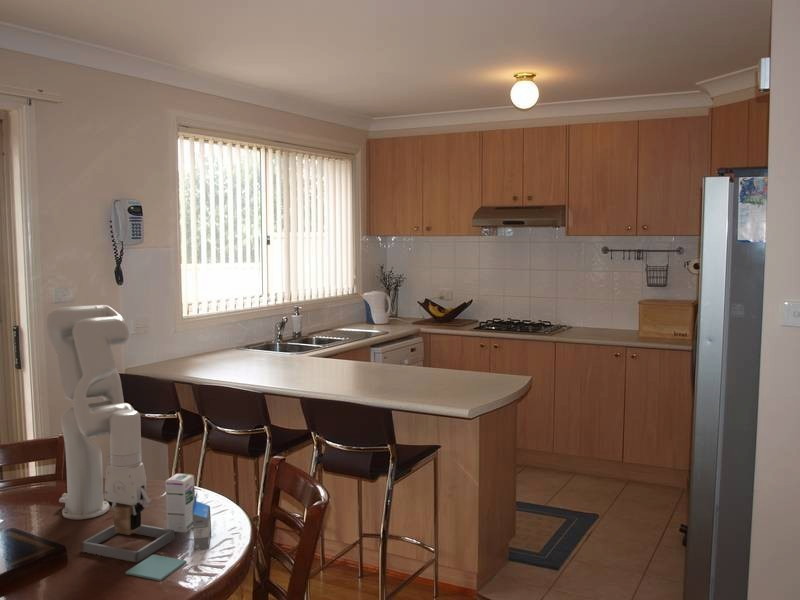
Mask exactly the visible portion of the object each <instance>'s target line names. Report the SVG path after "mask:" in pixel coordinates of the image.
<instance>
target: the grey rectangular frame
mask: <svg viewBox="0 0 800 600" xmlns="http://www.w3.org/2000/svg"><path fill="white" fill-rule="evenodd" d="M117 534H118V533H116V532H115V526H114V524H113V525H110V526H109V527H107V528H105V529H103V530H101V531H99V532H98V533H96V534H94V535H92V536H91V537H89V538H87V539H85V540H83V541H81V543H80V545H81V546H80V547H81V552H82V553H85V552H87V553H86V554H91V553H92V554H91V555H96V554H97V556H101V555H102V556H103V557H106V558H113V559H117V560H123V561H128V562H133V563H137V564H139V563H140V562H142V561H143V560H145V559H147V558H148V557H150V556H151V555H153V553H155V552H157V551H158V550H159V549H161V548H162V547H165V545H166V546H167V544H170V543H171V542H172V541H174V540H175V532H174V530H170V529H167V528H164V527H158V526H153V525H146V524H141V528H140V529H138V530H137V531H135V532H133V533H132V534H136V535H141V536H147V537H152V538H156V539H155V540H153V541H151V542H150V543H148V544H146V545H144V546H143V547H142V548H141V547H140V549H138V550H137V551H136V550H132V549H126V548H121V547H116V546H111V545H106V544H101V543H103V542H104V541H107V540H108V539H110V538H112V537H113V536H115V535H117Z"/></svg>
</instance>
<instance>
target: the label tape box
mask: <svg viewBox="0 0 800 600" xmlns="http://www.w3.org/2000/svg"><path fill="white" fill-rule="evenodd" d="M197 496H198V492H195V498H194V501H193V507H192V515H193V527H192V529H193V530H192V531H193V534H192V535H193V548H194V549H193V550H194V551H201V550H202V551H203V550H209V549H210V547H211V546H210V545H211V538H212V522H211V521H212V518H211V506H210V505H209V504H205V503H203V502H199V501H197V498H198V497H197ZM194 502H195V504H194Z"/></svg>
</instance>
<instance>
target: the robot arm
mask: <svg viewBox="0 0 800 600" xmlns="http://www.w3.org/2000/svg"><path fill="white" fill-rule="evenodd" d="M45 321H46V323H45V324H46V332H47V336H48V339H49V341H50V342H51V345H52V347H53V349H54V351H55V354H56V358H57V365H58V371H59V378H60V385H61V390H62V394H63V397H64V398H65V399H66V400H68V401H72V406H71V407H68V408H66V409H64V411H63V412H62V414H61V416H60V427H61V430H62V435H63V441H64V450H65V462H66V463H65V466H66V467H65V468H66V486H67V487H66V488H67V489H66V490H67V493H66V492H64V493H62V494H61V497H60V498H59V499H58V502H59V503H63V504H64V505H65V506H64V508H63V509H62V510H61V513H62V514H61V515H62V516H63V518H66V519H69V520H87V519H88V520H89V519H91V518H96V517H99V516H102V515H104V514H106V513H107V512H108V511H109V510H110V507H111V511H112V512H113V513H114V506H115V505H117V504H119V503H120V504H125V505H130V506H131V510H132V515H131V530H134V529H136V528H138V527H139V526H141V525H142V514H141V513H142V512H143V511H144V509H145V508H146V507H148V506H149V505H151V504H152V500H151V499H150V497H149V496H148V487H147V486H148V484H147V476H146V475H147V474H146V470H145V466H144V463H143V462H142V433H141V431H142V430H141V429H142V427H141V425H142V424H141V423H142V422H141V414H140V412H139V411H137V410H135V409H134V407H133V406H132V405H131V404H130V403H128V402H127V403H126V402H125V400H124V395H123V394H124V393H123V388H122V387H123V386H122V380H121V377H120V374H119V371H118V369H117V363H116V360H115V358H114V357H115V356H114V354H113V351H112V346H113V347H115V346H122V345H126V343H127V342H128V341H129V337H130V330H129V327H128V324H127V322H126V320H125V319H124V317H123V316H122V315H121V314H120V313H119V312H117V311H116V310H115V309H113V308H112V306H109V305H108V304H92V305H91V304H90V305H89V304H88V305H87V304H86V305H73V306H64V307H63V306H62V307H58V308H55V309H53V310H51V311H50V312H49V313H48V314H47V316H46V319H45ZM96 398H102V399H103V400H102V401H99V402H98V401H97V402H90V403H88V399H96ZM105 435H109V451H108V452H107V456H108V457H109V458H110V461H109V462H108V463H107V465H106V466H107V467H106V472H105V479H103V476H104V475H103V454H102V453H103V451H102V450H101V447H100V445H98V443H96V442H95V441H94V440H93V438H94V437H101V436H105ZM104 499H105V500H104ZM136 504H137V508H136ZM113 525H114V524H113ZM114 526H115V525H114Z"/></svg>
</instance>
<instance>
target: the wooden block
mask: <svg viewBox="0 0 800 600" xmlns="http://www.w3.org/2000/svg"><path fill="white" fill-rule="evenodd" d="M136 508H137V504H136ZM131 515H132V510H131V506H130V505H125V504H120V503H119V504H117V505H115V506H114V512H113V521H114V524H113V525H115V532H116V533H117V534H122V535H127V536H129V535H131V534H134V533H133V532H135V531H137V530H138V529H140V528H141V526H139V527H138V528H136V529H134V530H131Z"/></svg>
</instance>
